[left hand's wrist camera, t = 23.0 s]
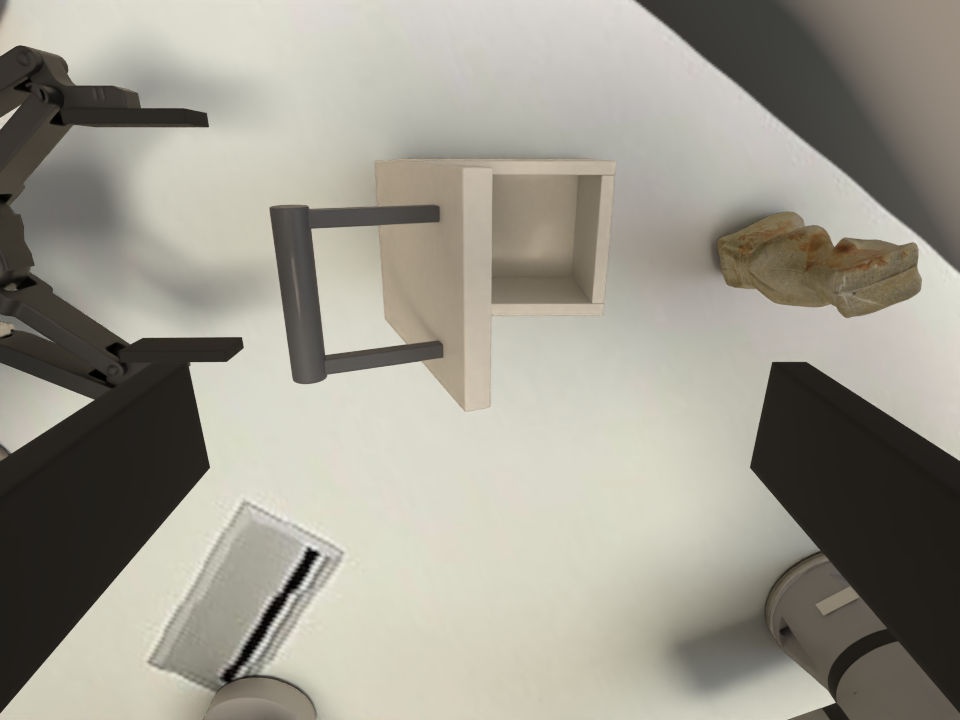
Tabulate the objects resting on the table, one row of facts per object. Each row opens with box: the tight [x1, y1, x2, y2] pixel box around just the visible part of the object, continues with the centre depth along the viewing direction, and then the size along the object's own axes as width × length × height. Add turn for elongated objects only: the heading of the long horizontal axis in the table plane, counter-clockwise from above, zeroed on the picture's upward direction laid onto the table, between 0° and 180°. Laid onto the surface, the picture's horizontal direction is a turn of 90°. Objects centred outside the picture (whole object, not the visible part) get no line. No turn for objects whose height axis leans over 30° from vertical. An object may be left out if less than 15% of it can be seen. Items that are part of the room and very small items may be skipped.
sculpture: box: [717, 212, 922, 318], centre depth 38 cm, size 6×7×15 cm
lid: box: [270, 161, 492, 412], centre depth 28 cm, size 15×10×8 cm
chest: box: [388, 159, 616, 316], centre depth 40 cm, size 15×10×10 cm
